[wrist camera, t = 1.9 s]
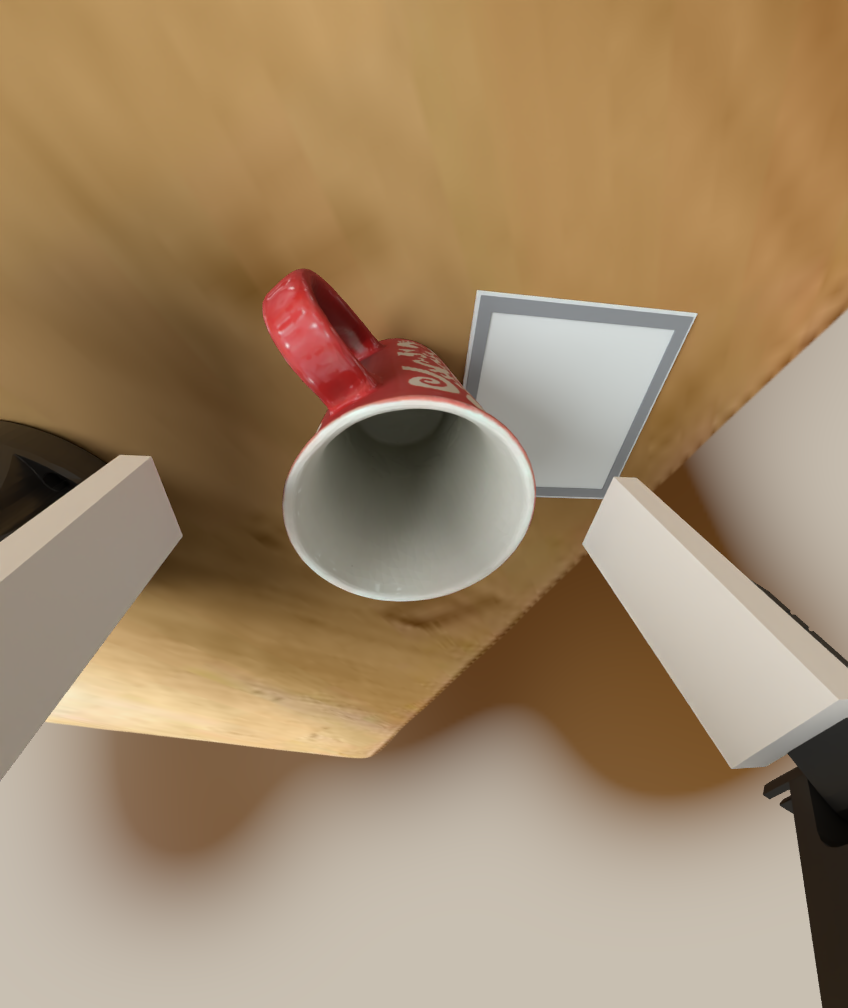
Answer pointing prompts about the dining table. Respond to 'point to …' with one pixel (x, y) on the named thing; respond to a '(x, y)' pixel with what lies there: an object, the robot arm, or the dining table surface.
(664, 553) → the robot arm
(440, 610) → the dining table surface
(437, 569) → the mug
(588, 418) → the print card
